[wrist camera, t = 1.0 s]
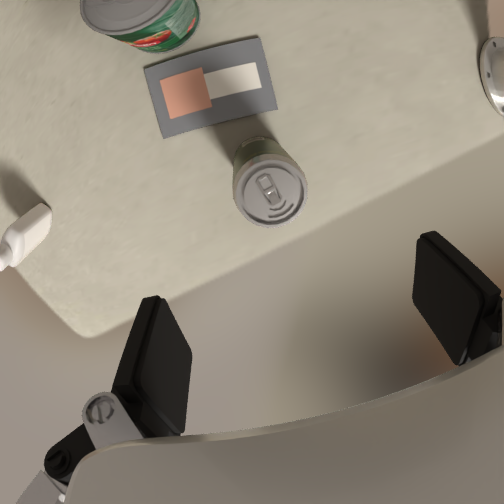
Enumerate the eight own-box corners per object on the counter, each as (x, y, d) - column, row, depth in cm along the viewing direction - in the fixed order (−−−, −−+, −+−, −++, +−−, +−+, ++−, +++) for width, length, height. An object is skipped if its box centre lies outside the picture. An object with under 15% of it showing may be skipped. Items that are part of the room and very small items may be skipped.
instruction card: (259, 38, 24) (260, 37, 24) (277, 109, 28) (278, 109, 28) (145, 69, 25) (143, 69, 25) (164, 138, 29) (163, 139, 28)
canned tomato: (199, -15, 21) (183, -62, 11) (202, 47, 24) (183, 21, 15) (126, -1, 21) (82, -34, 11) (127, 60, 24) (78, 47, 15)
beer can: (224, 151, 30) (217, 181, 19) (269, 126, 29) (289, 142, 18) (249, 193, 32) (256, 243, 22) (293, 170, 31) (322, 209, 21)
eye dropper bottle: (62, 226, 33) (12, 276, 22) (38, 242, 34) (-9, 292, 23) (46, 197, 31) (-11, 241, 20) (23, 216, 32) (-30, 260, 21)
